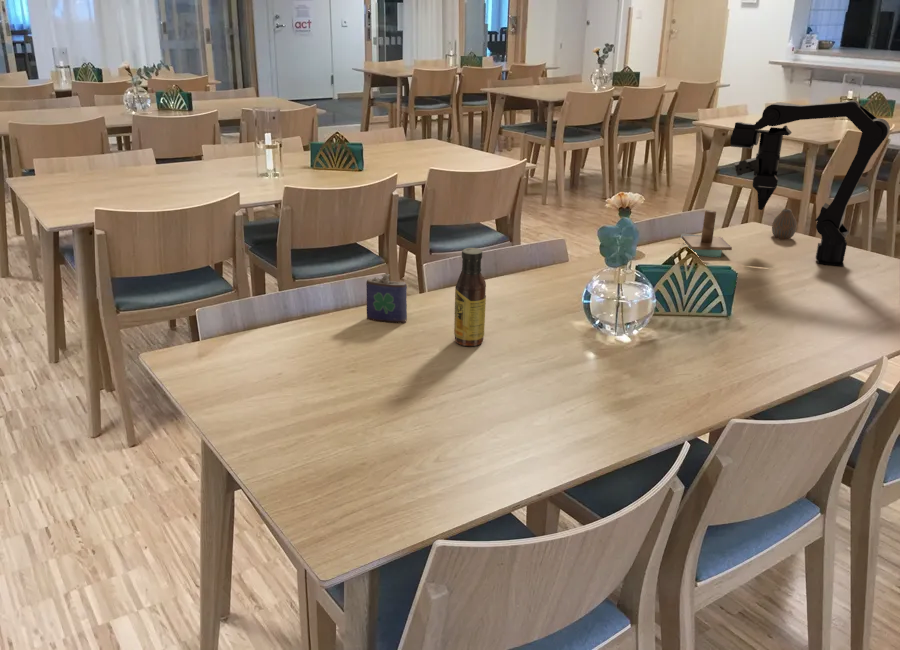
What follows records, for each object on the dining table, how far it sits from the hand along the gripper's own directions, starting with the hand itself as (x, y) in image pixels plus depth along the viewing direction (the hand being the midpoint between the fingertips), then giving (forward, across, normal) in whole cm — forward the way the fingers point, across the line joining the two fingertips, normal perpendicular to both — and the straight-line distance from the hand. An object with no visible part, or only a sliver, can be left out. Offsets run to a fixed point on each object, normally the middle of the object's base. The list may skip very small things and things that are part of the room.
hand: (760, 206), depth 228 cm
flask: (+13, +90, -75) cm, 118 cm away
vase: (+13, -18, +8) cm, 24 cm away
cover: (+10, +8, -13) cm, 18 cm away
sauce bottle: (+13, +95, -54) cm, 110 cm away
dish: (+13, +8, -13) cm, 20 cm away
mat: (+13, -4, -15) cm, 20 cm away
